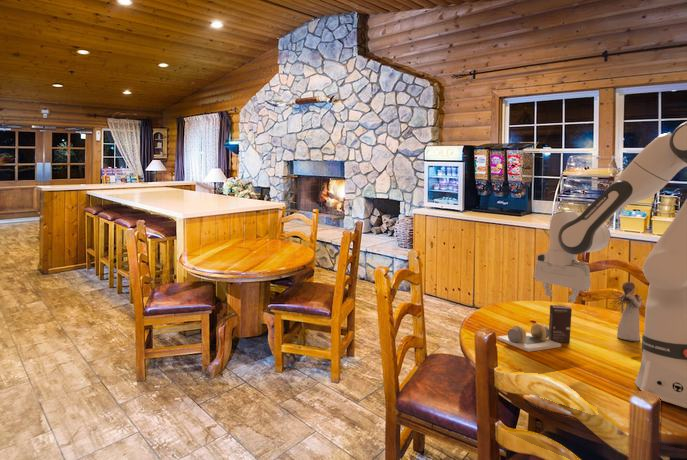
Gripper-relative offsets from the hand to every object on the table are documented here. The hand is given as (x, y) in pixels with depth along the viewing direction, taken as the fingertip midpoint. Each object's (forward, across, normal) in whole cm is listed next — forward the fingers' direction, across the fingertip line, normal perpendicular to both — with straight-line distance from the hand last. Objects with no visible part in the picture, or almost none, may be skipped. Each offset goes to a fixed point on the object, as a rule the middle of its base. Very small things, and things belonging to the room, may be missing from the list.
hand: (560, 298), depth 149 cm
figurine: (+15, -6, -23) cm, 28 cm away
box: (+15, 0, 0) cm, 15 cm away
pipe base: (+15, +2, +12) cm, 19 cm away
